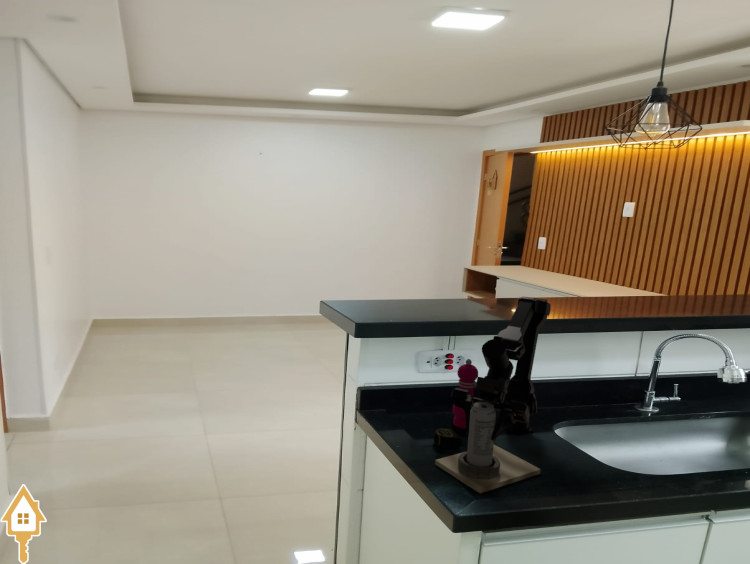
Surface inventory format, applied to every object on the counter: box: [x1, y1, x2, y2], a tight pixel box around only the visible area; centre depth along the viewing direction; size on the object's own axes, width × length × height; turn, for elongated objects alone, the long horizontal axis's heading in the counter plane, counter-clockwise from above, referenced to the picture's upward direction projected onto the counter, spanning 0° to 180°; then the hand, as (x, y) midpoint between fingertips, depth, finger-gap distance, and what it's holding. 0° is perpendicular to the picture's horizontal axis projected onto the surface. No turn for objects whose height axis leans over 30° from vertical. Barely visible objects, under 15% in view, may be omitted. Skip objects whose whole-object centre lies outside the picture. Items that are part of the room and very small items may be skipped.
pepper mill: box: [452, 358, 479, 430], centre depth 166 cm, size 7×7×20 cm
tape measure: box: [432, 427, 463, 449], centre depth 152 cm, size 7×7×4 cm
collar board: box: [434, 444, 541, 494], centre depth 139 cm, size 20×16×4 cm
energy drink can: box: [466, 402, 497, 467], centre depth 135 cm, size 6×6×15 cm
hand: (479, 436), depth 134 cm, fingers closed on energy drink can, 6 cm apart
